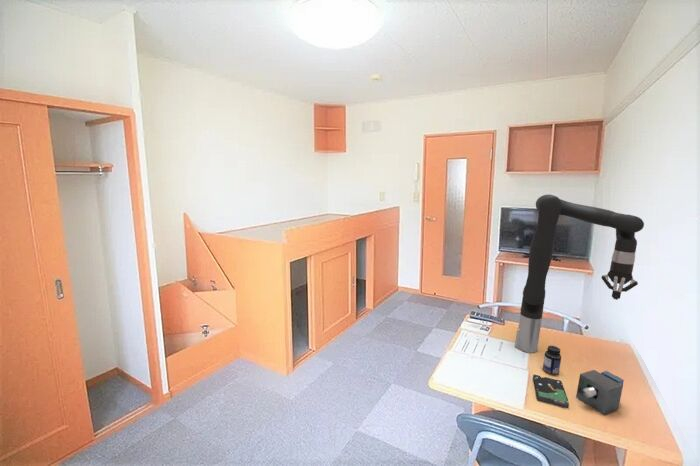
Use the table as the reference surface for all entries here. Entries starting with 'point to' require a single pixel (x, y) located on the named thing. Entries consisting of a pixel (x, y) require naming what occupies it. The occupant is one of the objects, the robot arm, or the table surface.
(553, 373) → the pill bottle
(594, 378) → the bearing block
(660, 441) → the table surface
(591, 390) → the silver metal piece
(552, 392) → the disk drive
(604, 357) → the table surface
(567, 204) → the robot arm
